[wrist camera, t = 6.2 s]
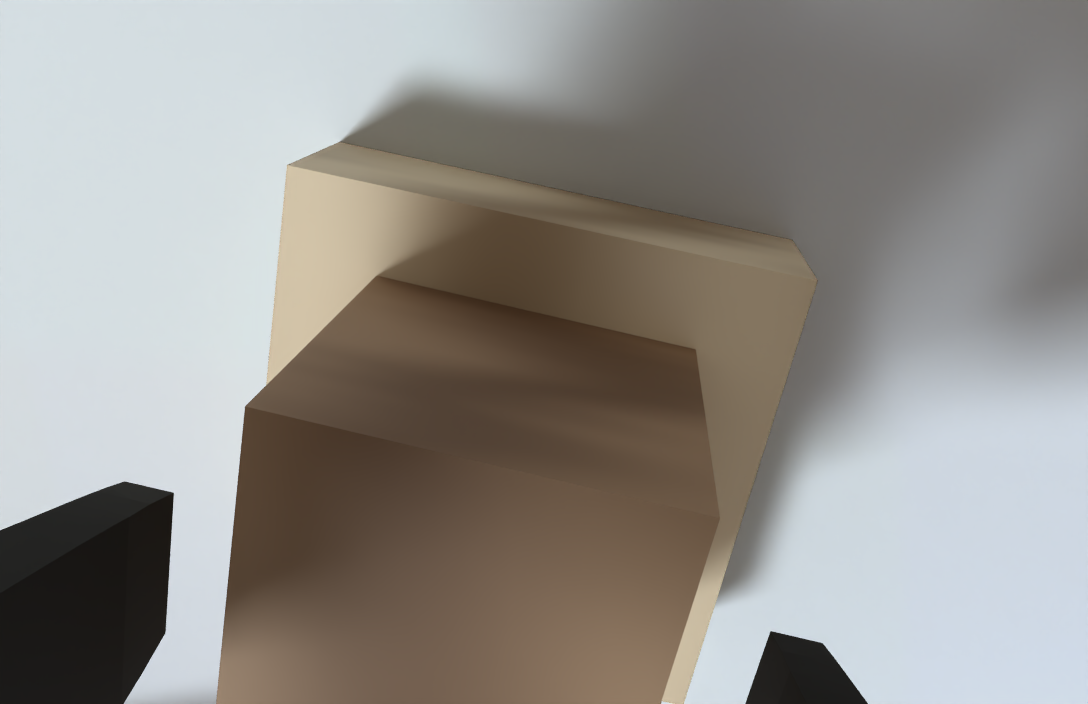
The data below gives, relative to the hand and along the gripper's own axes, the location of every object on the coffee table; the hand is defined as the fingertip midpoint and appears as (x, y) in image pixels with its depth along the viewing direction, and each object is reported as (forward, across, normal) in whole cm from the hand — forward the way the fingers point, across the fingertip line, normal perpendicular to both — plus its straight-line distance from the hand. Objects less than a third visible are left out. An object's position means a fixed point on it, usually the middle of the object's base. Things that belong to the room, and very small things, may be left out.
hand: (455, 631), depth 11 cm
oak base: (+7, 0, 0) cm, 7 cm away
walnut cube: (+4, 0, 0) cm, 4 cm away
